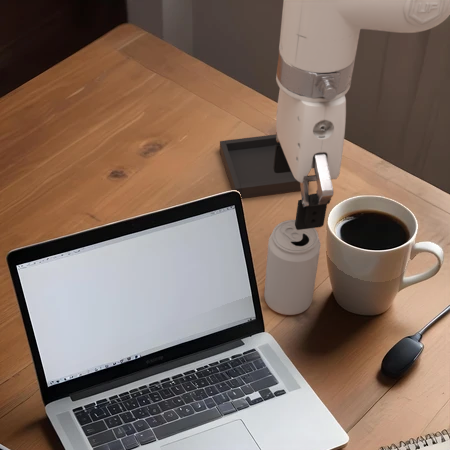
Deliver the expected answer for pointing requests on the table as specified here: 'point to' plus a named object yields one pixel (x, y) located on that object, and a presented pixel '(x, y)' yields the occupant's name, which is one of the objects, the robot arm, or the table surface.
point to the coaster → (255, 167)
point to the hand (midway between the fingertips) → (297, 197)
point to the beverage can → (291, 268)
